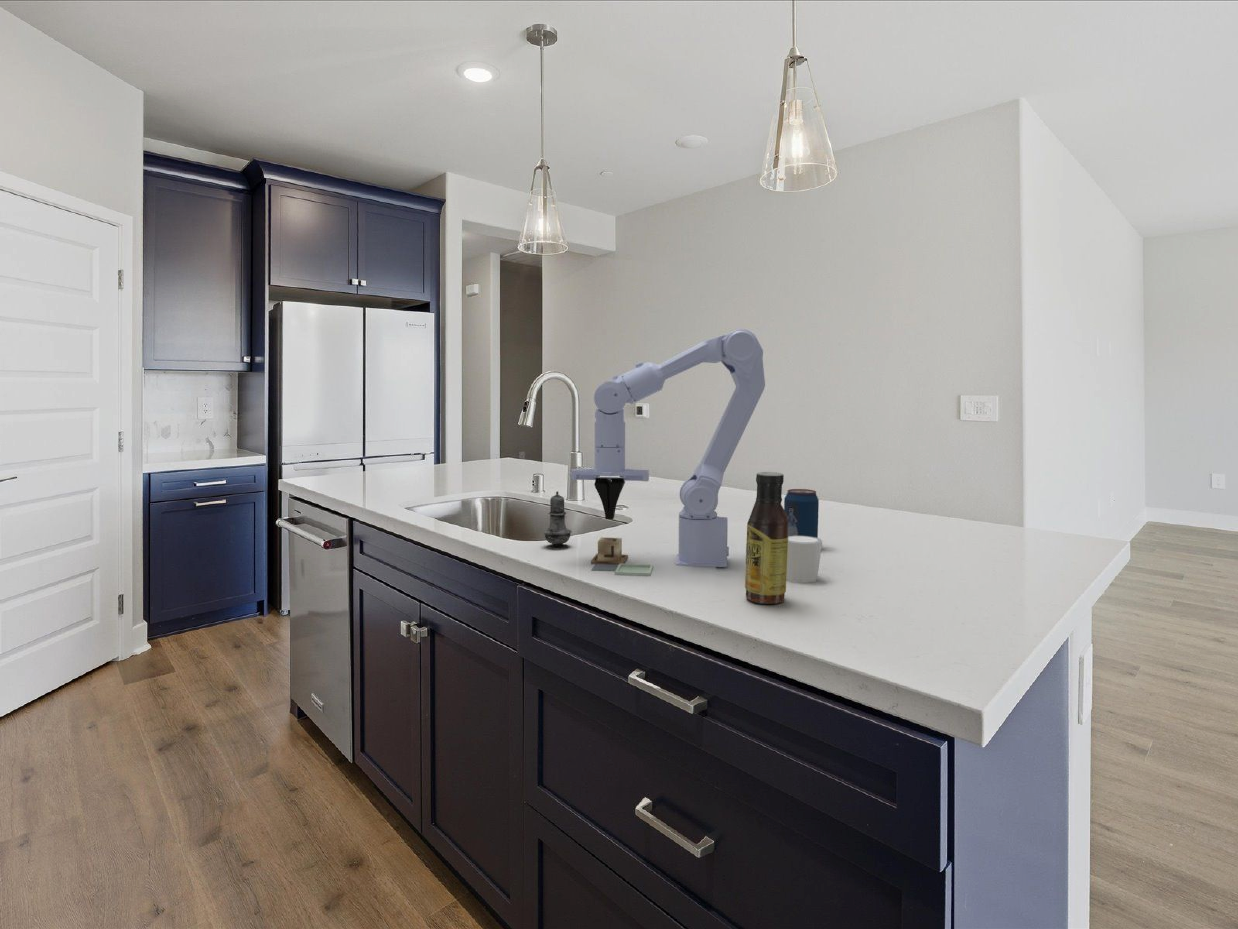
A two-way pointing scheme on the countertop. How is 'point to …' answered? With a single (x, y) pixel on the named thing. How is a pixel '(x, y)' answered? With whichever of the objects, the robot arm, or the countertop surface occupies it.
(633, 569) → the stoneware dish
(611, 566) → the slate mat
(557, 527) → the salt shaker
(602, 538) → the letter cube
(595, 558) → the walnut dish
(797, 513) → the soda can
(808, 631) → the countertop surface
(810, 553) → the white tapered cylinder
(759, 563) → the sauce bottle
